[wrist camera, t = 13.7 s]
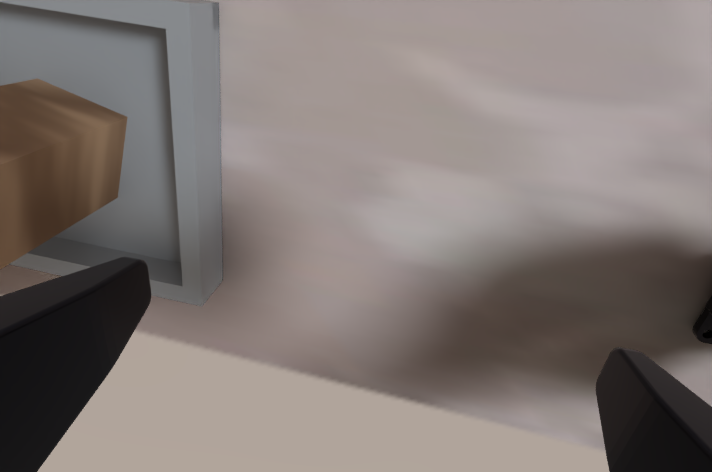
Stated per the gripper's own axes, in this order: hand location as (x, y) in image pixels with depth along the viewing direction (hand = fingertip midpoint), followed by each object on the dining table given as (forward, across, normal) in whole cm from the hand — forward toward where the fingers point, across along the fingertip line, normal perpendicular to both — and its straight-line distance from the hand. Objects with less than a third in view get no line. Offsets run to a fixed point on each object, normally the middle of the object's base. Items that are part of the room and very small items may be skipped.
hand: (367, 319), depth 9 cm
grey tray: (+13, +16, +3) cm, 21 cm away
